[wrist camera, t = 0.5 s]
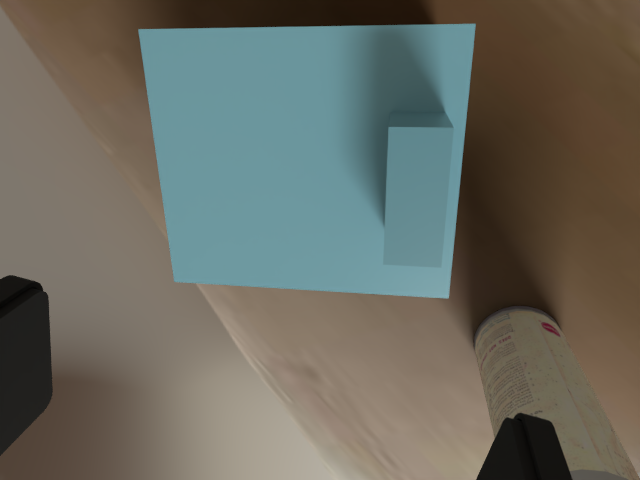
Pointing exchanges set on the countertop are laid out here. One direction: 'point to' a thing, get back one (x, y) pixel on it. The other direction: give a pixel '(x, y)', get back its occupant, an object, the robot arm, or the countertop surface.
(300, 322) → the countertop surface
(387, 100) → the lid
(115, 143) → the countertop surface
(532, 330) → the aerosol can
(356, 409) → the countertop surface
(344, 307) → the countertop surface
